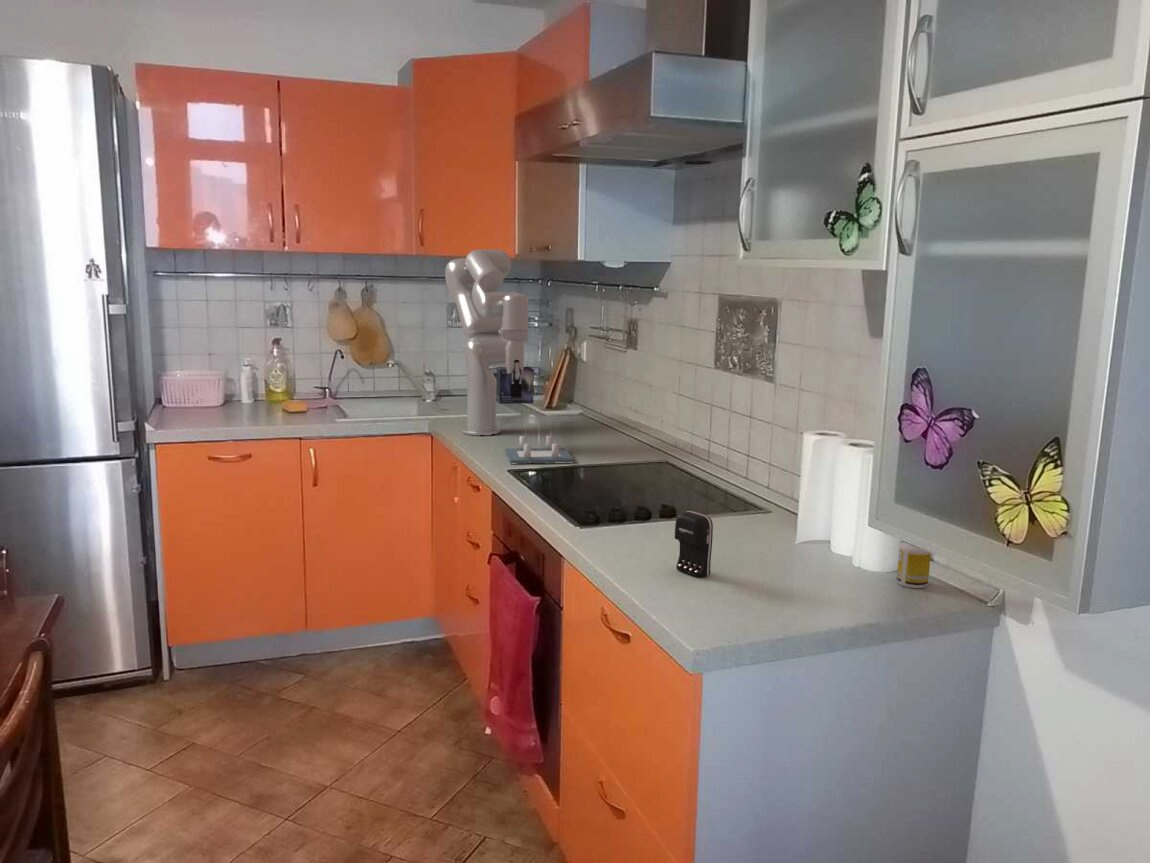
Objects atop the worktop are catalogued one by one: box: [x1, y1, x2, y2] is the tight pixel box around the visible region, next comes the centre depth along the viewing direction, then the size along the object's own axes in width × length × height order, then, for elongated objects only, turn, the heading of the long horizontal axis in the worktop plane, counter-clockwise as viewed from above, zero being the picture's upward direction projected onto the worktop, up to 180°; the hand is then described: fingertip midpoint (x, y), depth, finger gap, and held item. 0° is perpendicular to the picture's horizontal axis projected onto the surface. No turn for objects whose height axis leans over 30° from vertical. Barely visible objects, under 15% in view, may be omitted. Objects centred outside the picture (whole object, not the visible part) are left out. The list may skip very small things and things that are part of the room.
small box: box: [496, 366, 535, 405], centre depth 273 cm, size 11×6×10 cm, turn 105°
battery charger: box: [674, 510, 714, 578], centre depth 168 cm, size 7×4×11 cm, turn 40°
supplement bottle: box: [896, 541, 932, 590], centre depth 165 cm, size 5×5×10 cm
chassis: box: [504, 435, 574, 464], centre depth 264 cm, size 16×18×5 cm
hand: (514, 394), depth 274 cm, fingers closed on small box, 6 cm apart
